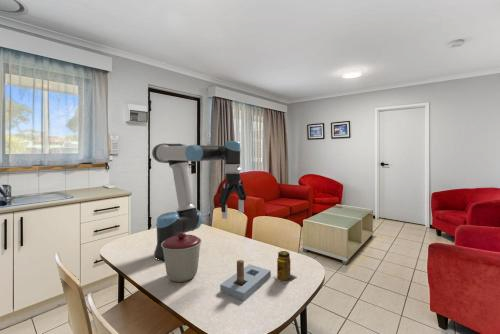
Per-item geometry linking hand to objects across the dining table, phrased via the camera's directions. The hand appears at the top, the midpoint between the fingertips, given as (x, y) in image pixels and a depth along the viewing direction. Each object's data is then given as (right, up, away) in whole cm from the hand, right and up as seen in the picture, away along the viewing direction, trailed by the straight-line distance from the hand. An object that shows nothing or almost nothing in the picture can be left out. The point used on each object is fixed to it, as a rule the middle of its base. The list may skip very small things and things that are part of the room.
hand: (233, 215), depth 122 cm
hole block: (+7, -28, -14) cm, 31 cm away
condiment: (+25, -27, -8) cm, 38 cm away
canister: (-23, -28, -7) cm, 37 cm away
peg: (+4, -28, -18) cm, 33 cm away
